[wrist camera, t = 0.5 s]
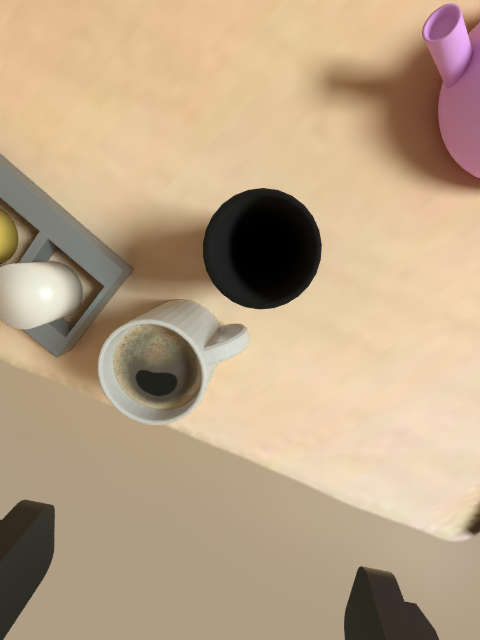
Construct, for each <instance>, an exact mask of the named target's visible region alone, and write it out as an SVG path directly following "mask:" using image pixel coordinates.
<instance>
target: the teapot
mask: <svg viewBox="0 0 480 640" xmlns="http://www.w3.org/2000/svg"><path fill="white" fill-rule="evenodd" d="M422 35H423V38H424V40H425V42H426V45H427V47H428V49H429V51H430V53H431V55H432V58H433V60H434V62H435V64H436V66H437V69H438V71H439V73H440V75H441V77H442V79H443V83H442V87H441V91H440V96H439V104H438V119H439V127H440V131H441V135H442V139H443V141H444V143H445V146H446V148H447V150H448V151H449V153H450V154H451V156H452V157H453V159H454V160H455V161H456V162H457V163H458V164H459V165H460V166H461V167H462V168H463V169H464V170H465V171H467V172H469V173H470V174H472V175H473V176H475V177H477V178H480V23H479V24H478V25H476V26H475V27H474V28H473V29H472V30H471V32H470V33H469V34H468V33H467V30H466V26H465V23H464V19H463V16H462V13H461V9H460V7H459V6H458V5H456V4H446V5H443V6H441V7H440V8H438V9H437V10H435V11H434V12H433V13H432V14H431V15H430V16H429V18H428V19H427V20H426V22H425V24H424V26H423V31H422Z"/></svg>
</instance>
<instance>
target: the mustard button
mask: <svg viewBox="0 0 480 640" xmlns="http://www.w3.org/2000/svg"><path fill="white" fill-rule="evenodd" d="M17 246H18V232H17V229H16V226H15V224H14V222H13V220H12V219H11V217H10V216H9V215H8V214H7V213H6V212H5V211H3V210H2V209H0V264H1V263H4V262H6V261H8V260H9V259H10V258H11V257H12V256H13V255H14V253H15V251H16V249H17Z"/></svg>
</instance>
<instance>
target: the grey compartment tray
mask: <svg viewBox="0 0 480 640" xmlns="http://www.w3.org/2000/svg"><path fill="white" fill-rule="evenodd" d="M0 198H1V199H3V200H4V201H5V202H6V203H7V204H8V205H10V206H11V207H12V208H13V209H14V210H15V211H17V212H18V213H19V214H20V215H21V216H22V217H24V218H25V219H26V220H27V221H28V222H29V223H31V224H32V225H33V226H34V227H35V228H37V229H38V230H39V231H40V232H39V233H38V235H37V236H36V238H35V239H34V241H33V242H32V244H31V245H30V247H29V248H28V250H27V251H26V252H25V254H24V255H23V257H22V258H21V260H20V261H19V263H32V262H47V261H48V260H49V259H50V257H51V256H52V255H53V253H54V252H55V250H56V249H57V247H59V248H60V249H61V250H62V251H63V252H65V253H66V254H67V255H68V256H69V257H70V258H72V259H73V260H74V261H75V262H76V263H77V264H79V265H80V266H81V267H82V268H83V269H84V270H86V271H87V272H88V273H89V274H90V275H92V276H93V277H94V278H95V279H96V280H97V281H99V282H100V283H101V284H102V285H103V286H104V288H103V289H102V291H101V292H100V293H99V294H98V296H97V297H96V298H95V300H94V301H93V302H92V304H91V305H90V306H89V308H88V309H87V310H86V311H85V313H84V314H83V315H82V317H81V318H80V319H79V321H78V322H77V323H76V325H75V326H74V327H73V326H72V325H71V324H70V323H68V322H67V321H66V320H65V319H64V318H61V319H58V320H55V321H52V322H49V323H46V324H43V325H40V326H37V327H34V328H31V329H22V330H23V331H25V332H26V333H27V334H28V335H29V336H31V337H32V338H33V339H34V340H36V341H37V342H38V343H39V344H40V345H42V346H43V347H44V348H45V349H46V350H48V351H49V352H50V353H51V354H53V355H54V356H55V357H56V358H57V357H59V356H61V355H62V354H64V353H66V352H68V351H70V350H71V349H72V348H73V346H74V345H75V344H76V342H77V341H78V340H79V339H80V337H81V336H82V335H83V333H84V332H85V331H86V330H87V328H88V327H89V326H90V324H91V323H92V322H93V321H94V319H95V318H96V317H97V315H98V314H99V313H100V312H101V310H102V309H103V308H104V306H105V305H106V304H107V303H108V301H109V300H110V299H111V297H112V296H113V295H114V294H115V292H116V291H117V290H118V288H119V287H120V286H121V285H122V283H123V282H124V281H125V279H126V278H127V277H128V276H129V274H130V273H131V272H132V270H133V268H132V267H131V266H129V265H128V264H127V263H126V262H125V261H124V260H122V259H121V258H120V257H119V256H118V255H117V254H116V253H114V252H113V251H112V250H111V249H110V248H109V247H107V246H106V245H105V244H104V243H103V242H102V241H101V240H99V239H98V238H97V237H96V236H95V235H94V234H92V233H91V232H90V231H89V230H88V229H87V228H86V227H84V226H83V225H82V224H81V223H80V222H79V221H77V220H76V219H75V218H74V217H73V216H72V215H71V214H69V213H68V212H67V211H66V210H65V209H64V208H62V207H61V206H60V205H59V204H58V203H57V202H56V201H54V200H53V199H52V198H51V197H50V196H49V195H47V194H46V193H45V192H44V191H43V190H42V189H41V188H39V187H38V186H37V185H36V184H35V183H34V182H32V181H31V180H30V179H29V178H28V177H27V176H26V175H24V174H23V173H22V172H21V171H20V170H19V169H17V168H16V167H15V166H14V165H13V164H12V163H11V162H9V161H8V160H7V159H6V158H5V157H4V156H2V155H1V154H0ZM0 267H1V266H0Z"/></svg>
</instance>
